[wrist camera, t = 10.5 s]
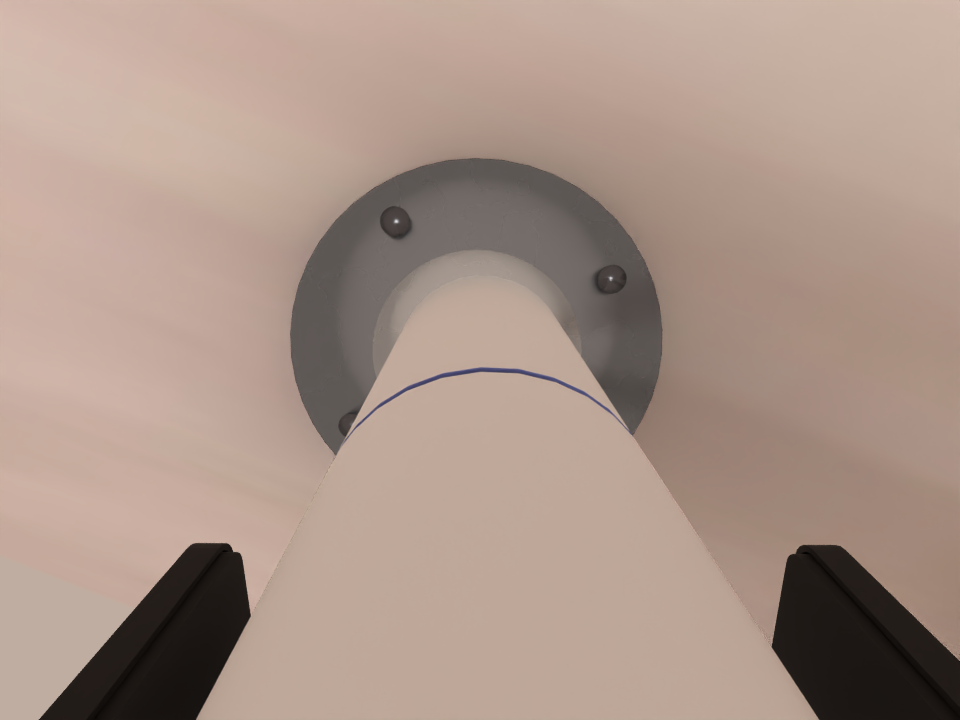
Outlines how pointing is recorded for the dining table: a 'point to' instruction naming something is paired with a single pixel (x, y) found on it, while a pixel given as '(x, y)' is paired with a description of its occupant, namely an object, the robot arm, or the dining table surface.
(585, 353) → the flange plate
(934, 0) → the dining table surface
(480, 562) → the cylindrical container
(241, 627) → the robot arm
